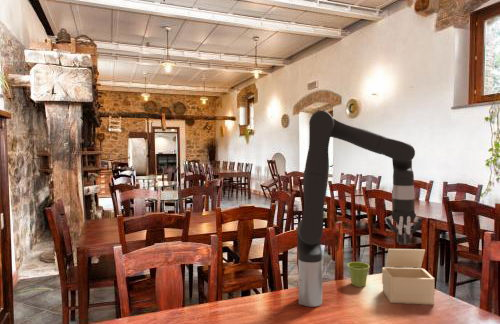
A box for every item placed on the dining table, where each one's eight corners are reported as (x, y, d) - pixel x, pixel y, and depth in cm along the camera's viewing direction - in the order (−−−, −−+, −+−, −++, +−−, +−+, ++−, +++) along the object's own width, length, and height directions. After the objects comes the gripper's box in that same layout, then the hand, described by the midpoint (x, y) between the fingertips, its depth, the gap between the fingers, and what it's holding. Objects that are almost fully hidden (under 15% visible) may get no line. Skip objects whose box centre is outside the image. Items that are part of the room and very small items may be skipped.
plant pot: (371, 289, 149) (371, 269, 148) (348, 287, 150) (348, 268, 150) (368, 281, 158) (368, 262, 157) (346, 280, 160) (346, 261, 159)
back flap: (385, 266, 146) (388, 249, 140) (385, 265, 146) (388, 248, 141) (420, 267, 144) (425, 250, 139) (420, 266, 144) (424, 249, 139)
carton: (389, 303, 135) (389, 278, 134) (381, 290, 147) (381, 267, 147) (435, 305, 133) (435, 279, 132) (423, 292, 145) (423, 268, 144)
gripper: (386, 198, 125) (386, 246, 125) (426, 198, 123) (426, 247, 123) (381, 195, 132) (381, 241, 133) (419, 195, 130) (419, 241, 131)
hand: (403, 243), depth 128 cm, fingers closed
